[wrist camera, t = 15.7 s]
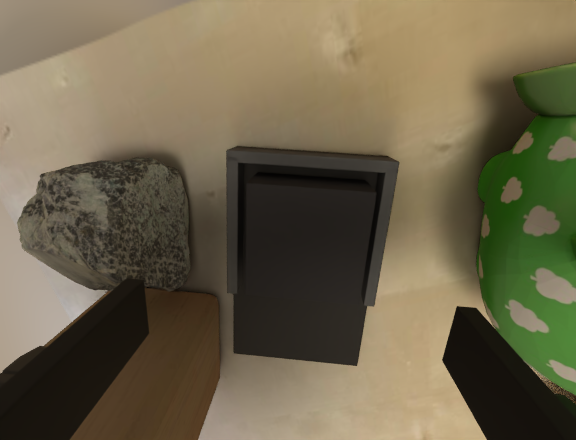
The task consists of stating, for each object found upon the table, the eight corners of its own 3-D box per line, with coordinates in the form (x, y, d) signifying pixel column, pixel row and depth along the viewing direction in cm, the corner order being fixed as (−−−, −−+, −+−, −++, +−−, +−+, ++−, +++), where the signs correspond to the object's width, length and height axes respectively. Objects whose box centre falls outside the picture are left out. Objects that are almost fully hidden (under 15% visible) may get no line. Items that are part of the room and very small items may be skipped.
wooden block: (126, 366, 31) (-171, 763, 12) (114, 280, 28) (-321, 634, 9) (222, 377, 30) (74, 809, 11) (221, 290, 27) (12, 691, 8)
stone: (148, 287, 15) (-50, 222, 15) (170, 322, 24) (45, 282, 23) (218, 154, 20) (71, 101, 20) (216, 222, 29) (113, 187, 28)
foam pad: (254, 268, 25) (244, 294, 21) (257, 171, 22) (246, 182, 19) (351, 276, 25) (359, 305, 21) (365, 179, 22) (377, 192, 18)
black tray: (355, 358, 28) (360, 384, 25) (235, 346, 29) (227, 370, 26) (388, 156, 22) (399, 161, 19) (236, 146, 23) (226, 149, 20)
